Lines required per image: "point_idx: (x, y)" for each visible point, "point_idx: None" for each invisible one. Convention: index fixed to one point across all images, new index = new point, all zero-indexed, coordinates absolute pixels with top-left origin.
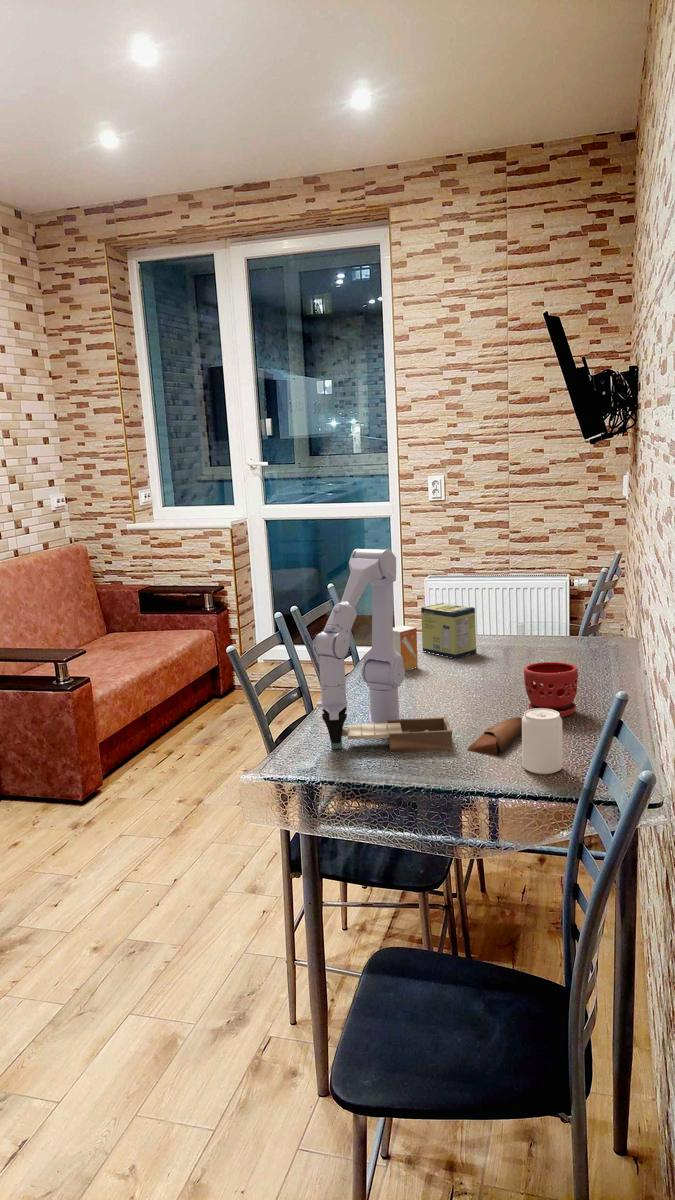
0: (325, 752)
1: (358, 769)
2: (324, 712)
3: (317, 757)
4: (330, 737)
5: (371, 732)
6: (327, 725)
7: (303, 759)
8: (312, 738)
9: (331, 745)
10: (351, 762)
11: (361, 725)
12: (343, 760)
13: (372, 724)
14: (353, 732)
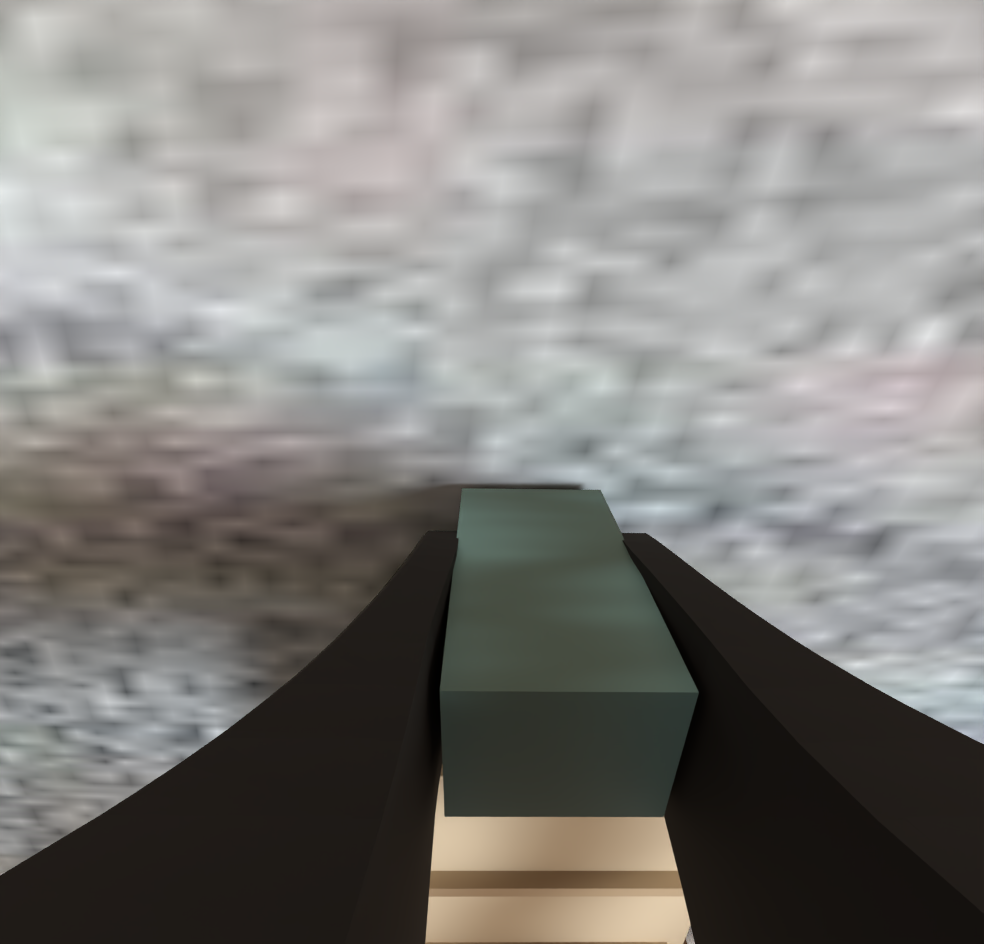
0: (405, 421)
1: (12, 672)
2: (962, 925)
3: (249, 333)
4: (399, 571)
5: (432, 928)
6: (223, 746)
7: (162, 138)
8: (927, 255)
9: (460, 508)
10: (153, 633)
11: (637, 894)
12: (191, 578)
13: (669, 938)
14: (453, 820)
